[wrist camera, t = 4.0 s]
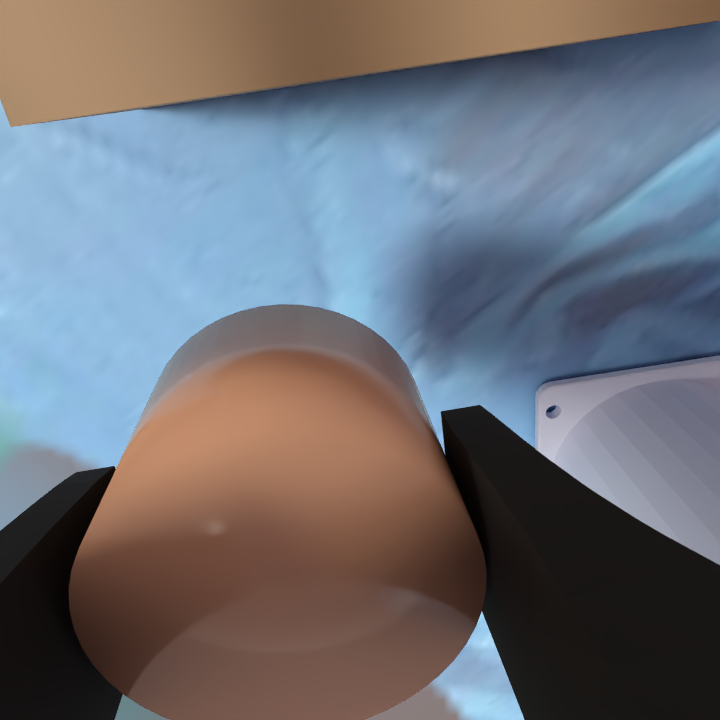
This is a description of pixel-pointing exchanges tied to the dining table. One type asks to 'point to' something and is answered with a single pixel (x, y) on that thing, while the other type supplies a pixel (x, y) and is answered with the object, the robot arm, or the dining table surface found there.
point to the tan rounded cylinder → (279, 531)
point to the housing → (275, 44)
